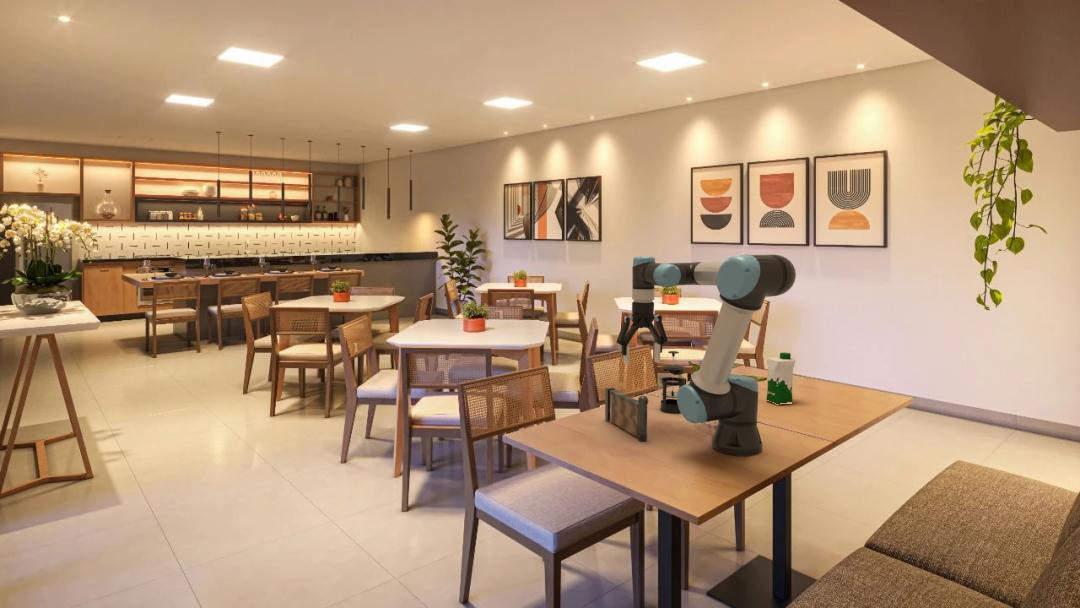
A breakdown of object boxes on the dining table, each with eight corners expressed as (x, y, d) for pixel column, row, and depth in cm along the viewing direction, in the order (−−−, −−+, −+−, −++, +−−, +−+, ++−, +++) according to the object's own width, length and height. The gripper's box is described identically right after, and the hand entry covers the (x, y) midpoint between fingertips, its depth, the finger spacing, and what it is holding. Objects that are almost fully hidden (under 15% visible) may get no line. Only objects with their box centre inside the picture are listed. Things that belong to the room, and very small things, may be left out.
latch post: (615, 420, 226) (615, 388, 224) (607, 421, 225) (607, 389, 223) (612, 419, 227) (612, 387, 226) (605, 420, 226) (605, 388, 225)
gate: (642, 436, 206) (643, 403, 205) (636, 437, 205) (636, 404, 204) (615, 420, 224) (615, 389, 223) (609, 420, 224) (609, 390, 222)
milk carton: (796, 404, 246) (797, 355, 244) (776, 406, 243) (778, 356, 241) (781, 399, 254) (782, 351, 252) (762, 401, 252) (764, 352, 250)
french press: (671, 415, 232) (672, 354, 230) (653, 409, 240) (654, 351, 238) (693, 410, 239) (694, 351, 236) (675, 405, 247) (676, 347, 244)
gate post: (649, 441, 202) (650, 396, 201) (640, 442, 201) (641, 397, 200) (644, 438, 206) (645, 394, 204) (635, 439, 205) (635, 395, 203)
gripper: (667, 298, 222) (666, 358, 224) (607, 301, 214) (606, 363, 216) (678, 300, 215) (677, 363, 217) (616, 303, 207) (615, 367, 209)
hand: (641, 363), depth 217 cm, fingers open, 11 cm apart
